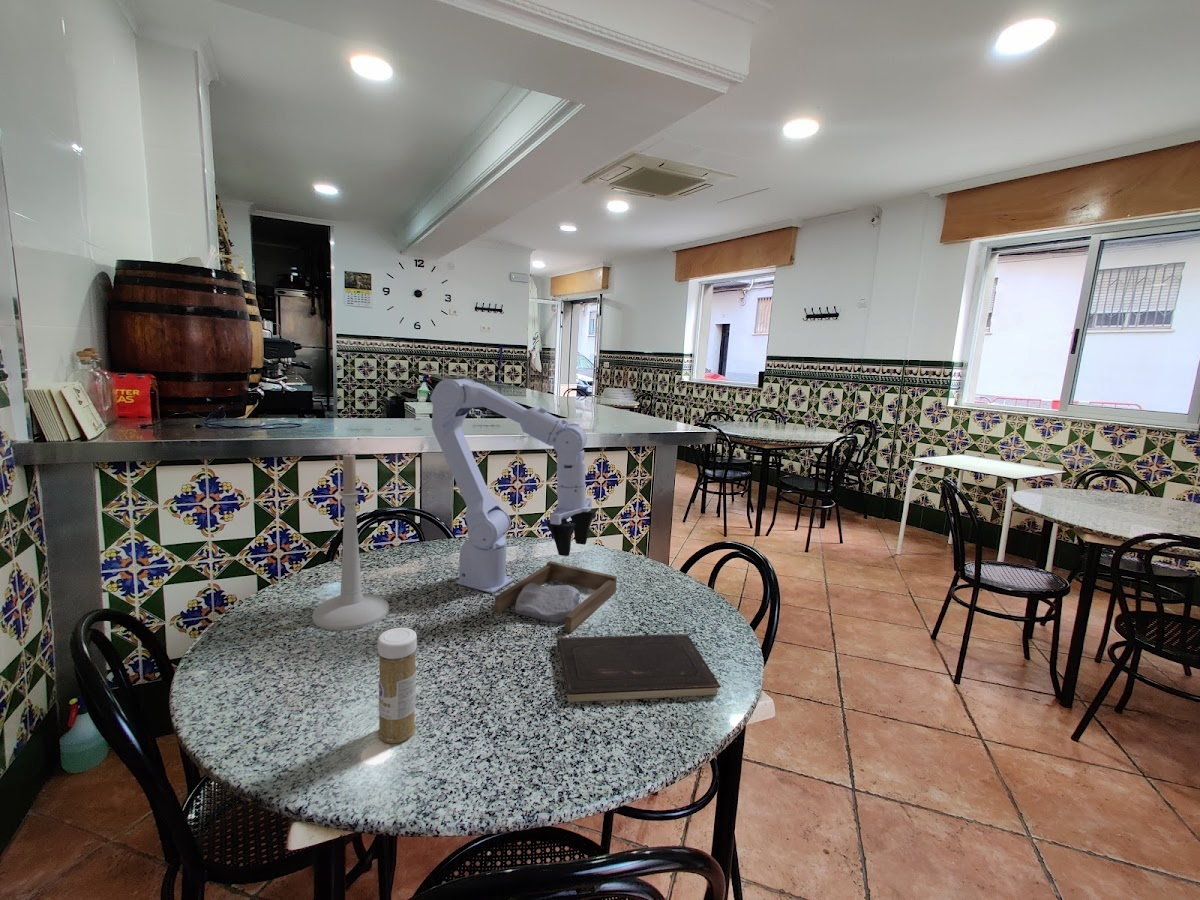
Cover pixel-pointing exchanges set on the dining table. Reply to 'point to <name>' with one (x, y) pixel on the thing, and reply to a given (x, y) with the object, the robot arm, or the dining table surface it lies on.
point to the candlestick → (350, 571)
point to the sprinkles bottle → (397, 684)
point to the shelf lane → (569, 574)
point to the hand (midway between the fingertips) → (572, 549)
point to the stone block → (547, 602)
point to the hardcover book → (634, 667)
